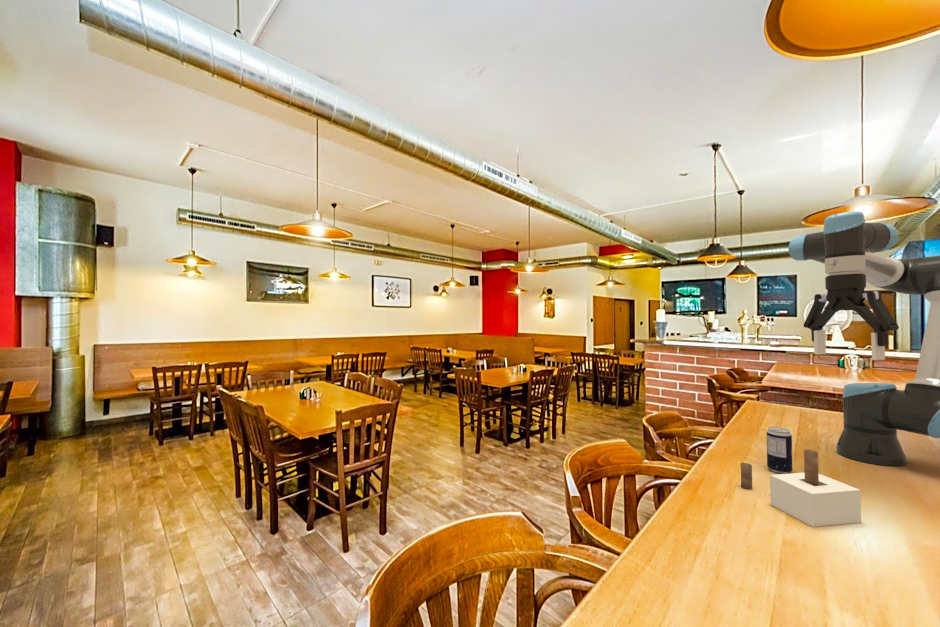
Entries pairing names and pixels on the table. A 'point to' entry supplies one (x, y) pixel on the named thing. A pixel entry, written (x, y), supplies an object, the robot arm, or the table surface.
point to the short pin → (746, 476)
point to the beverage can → (779, 450)
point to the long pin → (811, 467)
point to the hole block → (816, 499)
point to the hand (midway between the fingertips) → (847, 356)
